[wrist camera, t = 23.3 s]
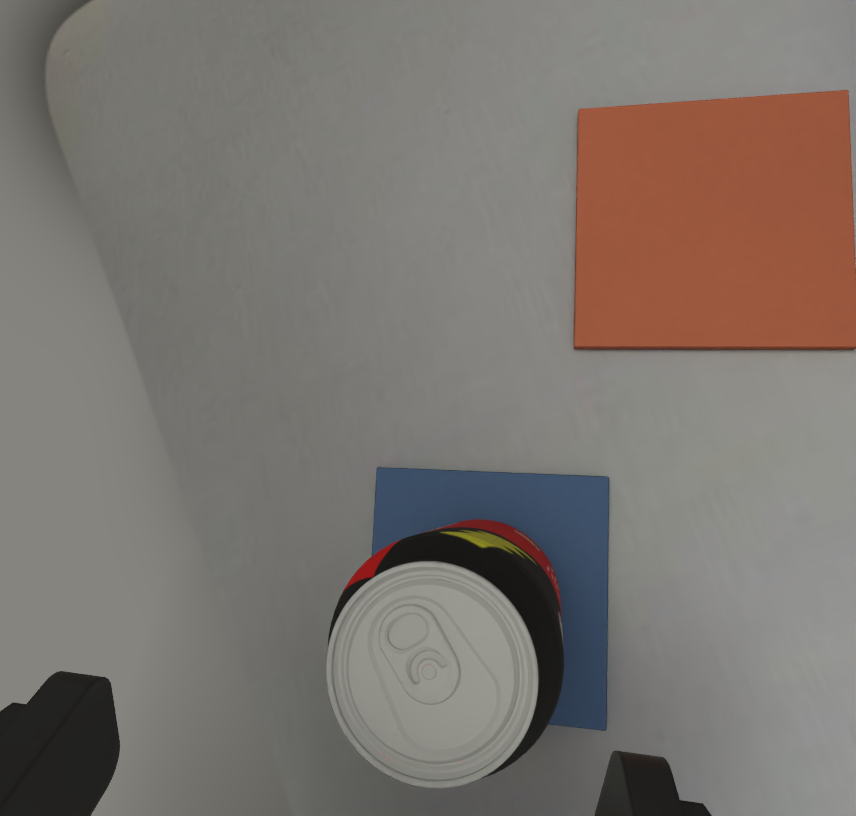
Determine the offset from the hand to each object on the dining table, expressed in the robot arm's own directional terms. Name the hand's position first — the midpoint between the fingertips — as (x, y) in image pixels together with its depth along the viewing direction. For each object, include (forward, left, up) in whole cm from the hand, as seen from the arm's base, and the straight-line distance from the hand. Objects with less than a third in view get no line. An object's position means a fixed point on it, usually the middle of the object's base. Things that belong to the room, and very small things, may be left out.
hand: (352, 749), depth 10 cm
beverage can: (0, 0, -17) cm, 17 cm away
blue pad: (0, 0, -18) cm, 18 cm away
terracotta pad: (+9, +16, -18) cm, 25 cm away
